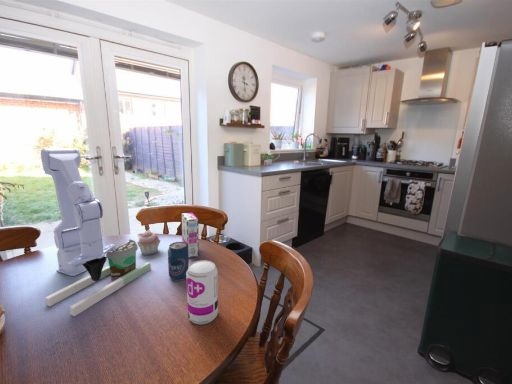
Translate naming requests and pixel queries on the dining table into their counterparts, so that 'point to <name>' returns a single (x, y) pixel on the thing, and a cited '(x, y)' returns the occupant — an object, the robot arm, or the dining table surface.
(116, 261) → the food container
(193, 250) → the candy bar box
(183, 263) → the soda can
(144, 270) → the parallel rails
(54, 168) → the robot arm
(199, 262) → the supplement can
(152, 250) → the cupcake
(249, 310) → the dining table surface
